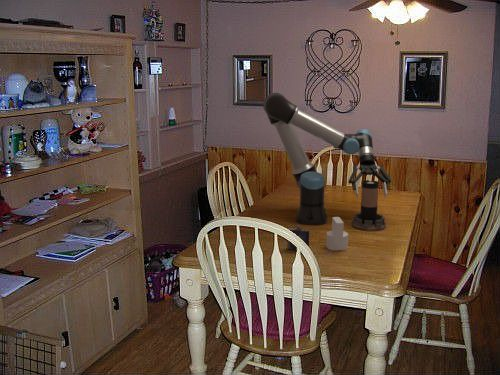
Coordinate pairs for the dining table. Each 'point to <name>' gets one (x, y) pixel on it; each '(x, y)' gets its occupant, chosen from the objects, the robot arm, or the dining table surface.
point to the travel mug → (369, 201)
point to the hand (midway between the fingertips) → (371, 195)
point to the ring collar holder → (369, 223)
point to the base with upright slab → (337, 236)
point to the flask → (301, 233)
